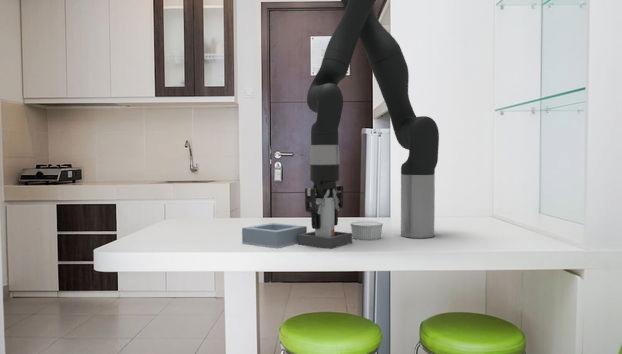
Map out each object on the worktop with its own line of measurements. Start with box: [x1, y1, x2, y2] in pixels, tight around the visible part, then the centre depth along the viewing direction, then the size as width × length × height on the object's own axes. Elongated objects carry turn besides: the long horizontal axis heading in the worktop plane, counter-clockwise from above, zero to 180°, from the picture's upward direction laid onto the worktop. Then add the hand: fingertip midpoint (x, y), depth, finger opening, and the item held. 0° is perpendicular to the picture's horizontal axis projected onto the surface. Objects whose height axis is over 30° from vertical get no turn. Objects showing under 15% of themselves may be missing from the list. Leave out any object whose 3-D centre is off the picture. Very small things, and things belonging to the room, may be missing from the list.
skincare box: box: [314, 197, 336, 238], centre depth 131 cm, size 6×4×12 cm
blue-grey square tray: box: [241, 222, 308, 249], centre depth 134 cm, size 12×12×4 cm
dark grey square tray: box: [297, 230, 353, 249], centre depth 131 cm, size 10×10×2 cm
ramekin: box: [350, 220, 384, 241], centre depth 140 cm, size 9×9×4 cm
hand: (325, 226), depth 131 cm, fingers closed on skincare box, 7 cm apart
